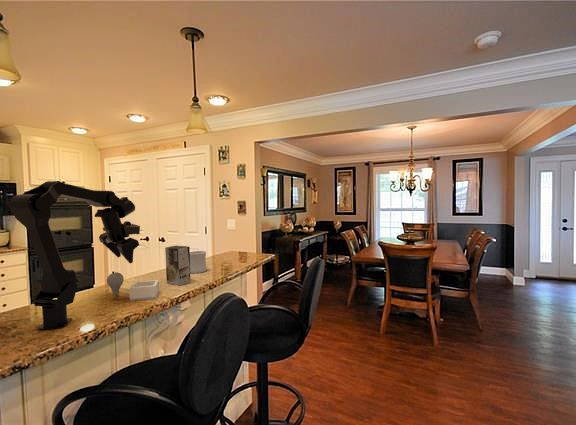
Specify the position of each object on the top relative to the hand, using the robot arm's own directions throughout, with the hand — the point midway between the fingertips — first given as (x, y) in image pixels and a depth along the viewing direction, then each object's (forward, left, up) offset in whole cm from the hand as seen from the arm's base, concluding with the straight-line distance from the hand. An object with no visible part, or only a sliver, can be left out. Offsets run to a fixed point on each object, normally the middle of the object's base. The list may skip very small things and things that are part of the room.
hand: (125, 259), depth 116 cm
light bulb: (-4, +3, -14) cm, 15 cm away
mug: (+30, -25, -14) cm, 42 cm away
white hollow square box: (-4, -7, -14) cm, 16 cm away
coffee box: (+12, -18, -14) cm, 26 cm away
